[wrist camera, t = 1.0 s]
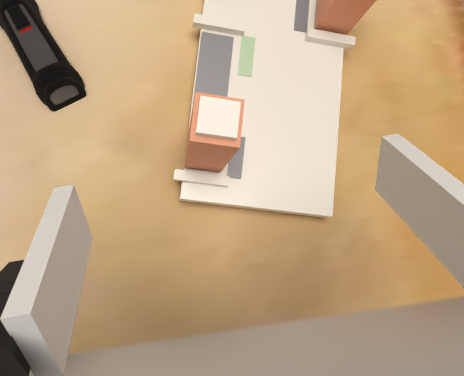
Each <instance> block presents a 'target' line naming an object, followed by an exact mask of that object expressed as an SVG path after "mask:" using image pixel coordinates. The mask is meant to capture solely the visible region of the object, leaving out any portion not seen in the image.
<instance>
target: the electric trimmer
mask: <svg viewBox="0 0 464 376" xmlns="http://www.w3.org/2000/svg"><path fill="white" fill-rule="evenodd" d="M0 25H1V26H2V28H3V29H4V30H5V32H6V33H7V35H8V37H9V39H10V40H11V42H12V44H13V46H14V48H15V50H16V52H17V54H18V55H19V57H20V59H21V61H22V63H23V65H24V67H25V69H26V71H27V73H28V75H29V77H30V79H31V81H32V83H33V85H34V88H35V91H36V94H37V95H38V97H39V98H40V100H41V101H42V102H43V103H44V104H45V105H47V106H48V107H49V109H51V110H53V111H57V110H59V109H61V108H63V107H65V106H67V105H69V104H71V103H74V102H76V101H78V100H80V99H82V98H83V97H85V95H86V92H85V90H84V83H83V81H82V78H81V77H80V75H79V74H78V72H77V71H76V70H75V69H74V68H73V67H72V66H71V65H70V63H69V62H68V60H67V59H66V57H65V56H64V54H63V52H62V51H61V49H60V48H59V46H58V45H57V43H56V42H55V40H54V39H53V37H52V35H51V34H50V32H49V31H48V29H47V27H46V26H45V24H44V22H43V20H42V18H41V16H40V15H39V11H38V5H37V3H36V2H35V0H0Z"/></svg>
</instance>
